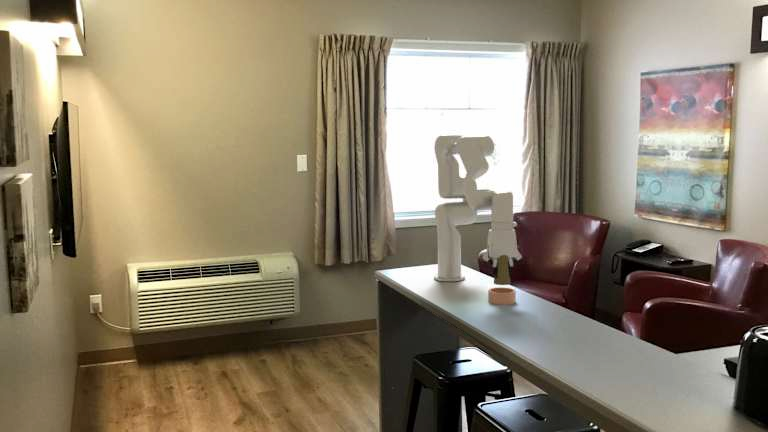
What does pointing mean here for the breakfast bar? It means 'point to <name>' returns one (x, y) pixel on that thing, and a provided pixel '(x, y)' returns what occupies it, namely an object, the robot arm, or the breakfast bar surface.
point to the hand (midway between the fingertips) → (502, 276)
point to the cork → (502, 271)
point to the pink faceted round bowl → (502, 296)
